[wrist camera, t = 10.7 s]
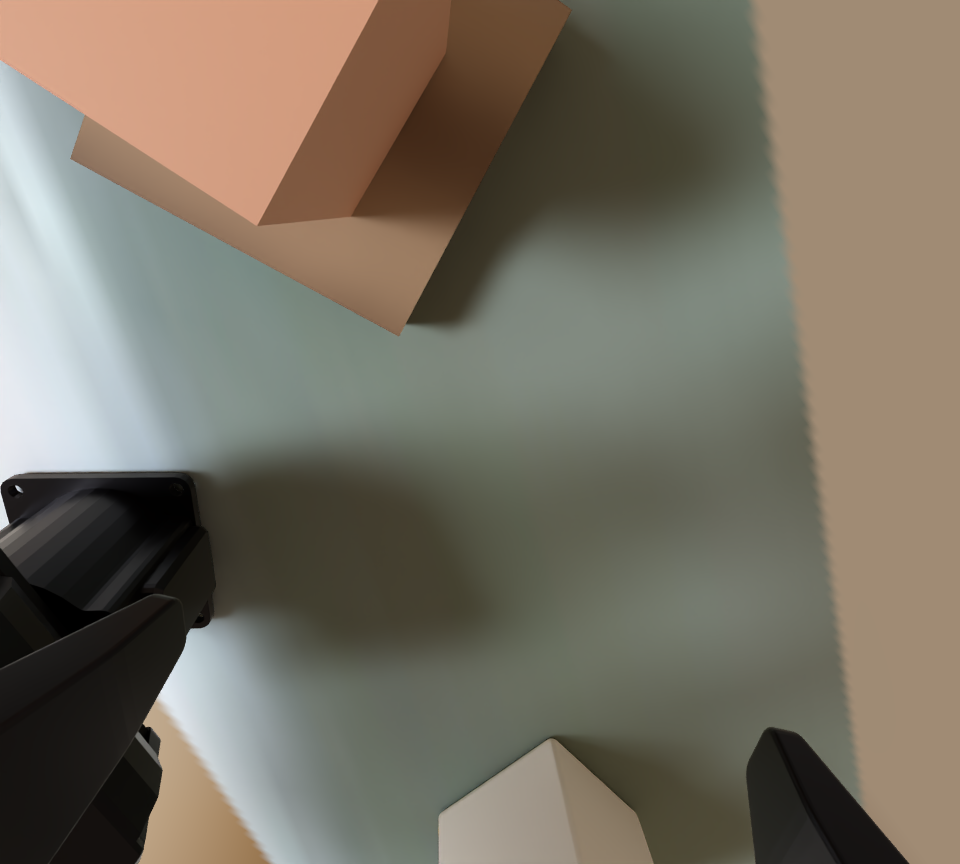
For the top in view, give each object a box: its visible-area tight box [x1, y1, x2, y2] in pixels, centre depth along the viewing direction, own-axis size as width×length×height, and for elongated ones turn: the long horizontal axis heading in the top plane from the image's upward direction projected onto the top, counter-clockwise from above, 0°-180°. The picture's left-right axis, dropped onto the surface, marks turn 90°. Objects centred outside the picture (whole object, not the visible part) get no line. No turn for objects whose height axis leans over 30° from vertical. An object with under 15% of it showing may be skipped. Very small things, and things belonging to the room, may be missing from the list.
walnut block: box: [70, 0, 572, 336], centre depth 17 cm, size 10×10×3 cm
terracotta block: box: [0, 0, 451, 226], centre depth 11 cm, size 5×5×10 cm
